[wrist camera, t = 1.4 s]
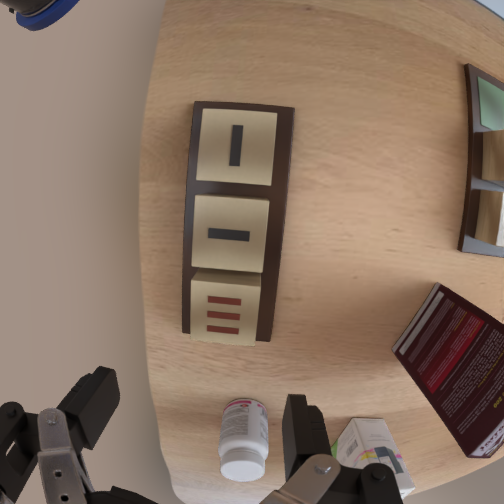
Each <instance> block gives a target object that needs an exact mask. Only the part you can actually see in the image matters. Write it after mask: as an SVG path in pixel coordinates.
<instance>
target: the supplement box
mask: <svg viewBox="0 0 504 504" xmlns="http://www.w3.org/2000/svg"><path fill="white" fill-rule="evenodd" d="M392 351H393V353H394V354H395V355H396V357H397V358H398V360H399V361H400V363H401V364H402V365H403V366H404V368H405V369H406V371H407V372H408V373H409V375H410V376H411V377H412V379H413V380H414V382H415V383H416V384H417V386H418V387H419V388H420V390H421V391H422V393H423V394H424V395H425V397H426V398H427V400H428V401H429V402H430V404H431V405H432V407H433V408H434V409H435V411H436V412H437V414H438V415H439V417H440V418H441V419H442V421H443V422H444V424H445V425H446V427H447V428H448V430H449V431H450V433H451V434H452V435H453V437H454V438H455V440H456V441H457V443H458V445H459V446H460V447H461V449H462V451H463V452H464V454H465V455H466V457H468V458H490V457H491V456H492V455H493V454H494V453H495V452H496V451H497V450H498V449H499V448H500V447H501V446H502V445H503V444H504V324H502V323H501V322H499V321H498V320H496V319H495V318H493V317H492V316H491V315H489V314H488V313H486V312H484V311H483V310H481V309H480V308H478V307H477V306H475V305H474V304H472V303H470V302H469V301H468V300H466V299H464V298H463V297H461V296H460V295H458V294H457V293H455V292H453V291H452V290H450V289H449V288H447V287H445V286H443V285H442V284H440V283H438V282H437V283H436V284H435V286H434V288H433V289H432V291H431V293H430V294H429V296H428V297H427V299H426V301H425V302H424V304H423V305H422V307H421V308H420V310H419V311H418V313H417V314H416V316H415V317H414V319H413V320H412V322H411V323H410V325H409V326H408V327H407V329H406V330H405V332H404V333H403V335H402V336H401V337H400V339H399V340H398V341H397V343H396V344H395V345H394V347H393V348H392Z"/></svg>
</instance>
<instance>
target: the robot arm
mask: <svg viewBox="0 0 504 504" xmlns="http://www.w3.org/2000/svg"><path fill="white" fill-rule="evenodd" d="M57 1H58V0H0V3H2V4H4V5H6V6H8V7H9V12H11V13H14V10H15V11H17V12H19V13H20V14H21V15H22V16H24V17H26V18H31V17H35V16H37V15H39V14H41V13H43V12H44V11H46V10H47V9H49V8H50V7H51V6H52V5H54V4H55V3H56V2H57ZM119 400H120V392H119V387H118V382H117V377H116V372H115V370H114V369H110V368H106V367H102V366H99V367H98V368H97V369H96V370H95V371H94V373H93V374H90V373H88V374H87V375H85V376H83V377H81V378H80V379H79V381H78V382H77V383H76V384H75V386H74V387H73V388H72V389H71V391H70V392H69V393H68V394H67V396H65V398H64V399H63V400H62V401H61V403H60V404H59V405H58V406H57V408H48V409H45V410H43V411H41V412H40V414H33V413H26V412H25V411H24V410H23V407H22V406H21V405H20V404H19V403H17V402H7V403H4V404H3V405H2V406H1V407H0V504H15V503H16V501H17V499H18V497H19V495H20V493H21V492H22V490H23V488H24V486H25V484H26V482H27V480H28V479H29V477H30V475H31V473H32V471H33V470H34V468H35V466H36V465H37V463H39V469H40V474H41V479H42V485H43V489H44V493H45V498H46V502H47V504H158V503H156V502H154V501H152V500H149V499H147V498H145V497H143V496H141V495H139V494H137V493H134V492H131V491H128V490H125V489H121V488H118V487H115V486H112V488H111V491H96V492H95V490H94V488H93V486H92V484H91V481H90V478H89V475H88V472H87V469H86V466H85V462H84V459H83V456H82V453H81V451H82V449H83V447H84V448H87V449H89V450H93V448H94V446H95V444H96V442H97V440H98V439H99V437H100V435H101V434H102V432H103V430H104V428H105V427H106V425H107V423H108V421H109V420H110V418H111V416H112V415H113V413H114V411H115V409H116V408H117V406H118V404H119ZM282 436H283V450H284V463H285V478H286V483H285V484H284V485H283V486H282V487H281V488H280V489H279V490H274V491H272V492H271V493H270V494H269V495H268V496H267V497H266V498H265V499H264V500H263V501H261V502H260V503H259V504H403V502H402V498H401V495H400V491H399V488H398V485H397V481H396V478H395V475H394V472H393V470H392V469H391V468H390V467H389V466H387V465H386V464H383V463H371V464H368V465H366V466H365V467H364V468H363V469H358V468H351V467H346V466H343V465H341V464H340V463H339V461H338V460H337V459H336V458H334V457H333V455H332V452H331V448H330V444H329V439H328V435H327V431H326V427H325V423H324V419H323V414H322V412H321V411H320V410H319V409H318V408H317V406H311V405H307V401H306V396H305V395H302V394H288V396H287V401H286V406H285V410H284V415H283V420H282ZM13 441H14V442H15V444H14V445H13V447H12V448H11V450H10V451H9V453H8V454H7V456H6V452H7V450H8V449H9V447H10V446H11V444H12V443H13Z"/></svg>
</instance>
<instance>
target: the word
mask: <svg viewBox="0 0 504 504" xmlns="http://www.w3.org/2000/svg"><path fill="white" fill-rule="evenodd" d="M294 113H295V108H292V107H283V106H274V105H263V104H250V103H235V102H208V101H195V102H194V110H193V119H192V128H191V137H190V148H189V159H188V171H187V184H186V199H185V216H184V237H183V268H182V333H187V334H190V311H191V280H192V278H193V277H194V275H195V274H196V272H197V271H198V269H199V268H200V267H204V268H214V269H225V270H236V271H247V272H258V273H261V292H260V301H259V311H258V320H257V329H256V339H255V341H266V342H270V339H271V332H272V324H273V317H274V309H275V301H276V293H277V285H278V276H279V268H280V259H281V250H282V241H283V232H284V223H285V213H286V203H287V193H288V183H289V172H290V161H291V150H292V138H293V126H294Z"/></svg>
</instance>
